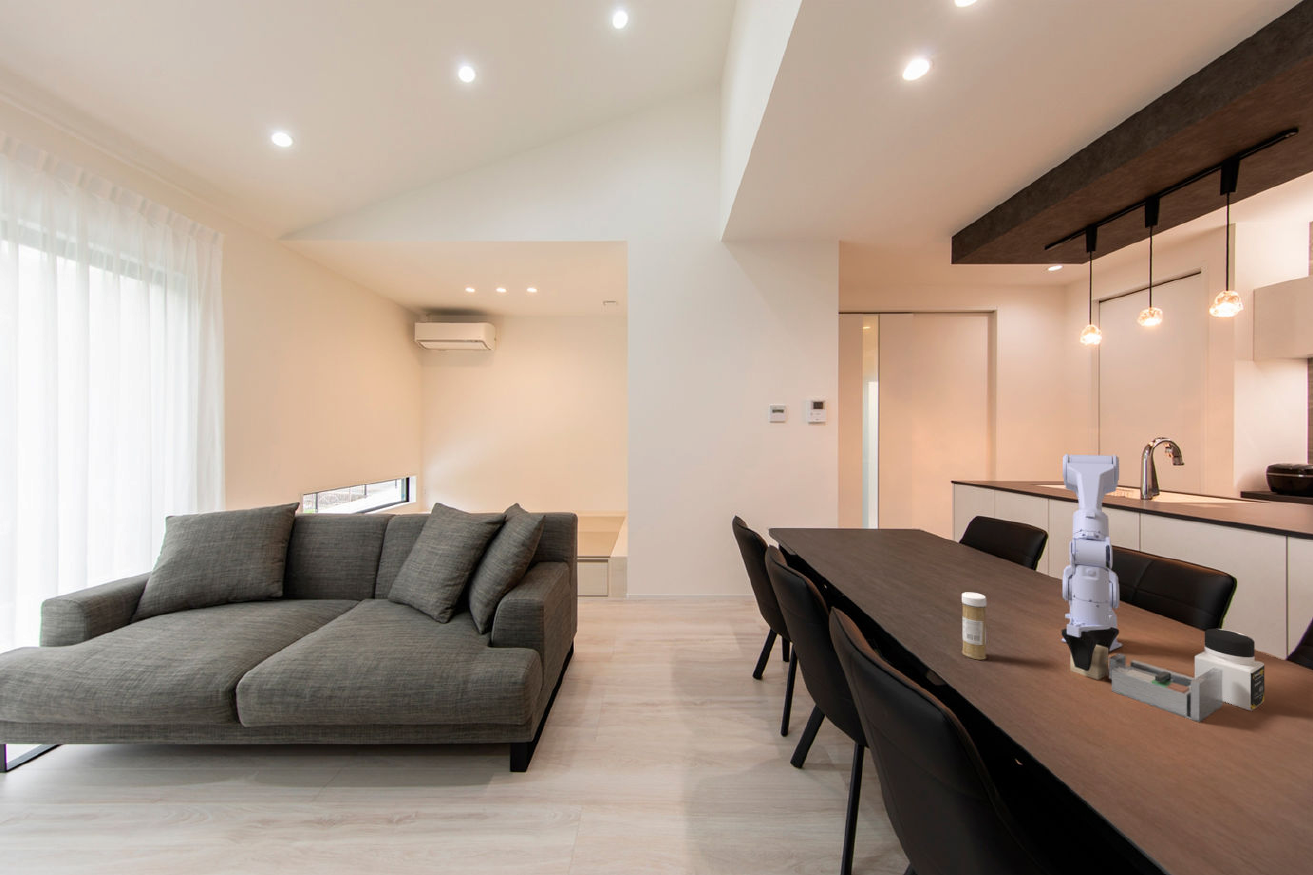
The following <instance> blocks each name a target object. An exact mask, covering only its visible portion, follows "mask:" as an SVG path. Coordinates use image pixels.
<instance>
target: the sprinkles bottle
mask: <svg viewBox="0 0 1313 875" xmlns="http://www.w3.org/2000/svg"><path fill="white" fill-rule="evenodd" d="M961 602H962V603H961V604H962V618H961V619H962V625H961V626H962V628H961V629H962V633H961V635H962V651H961V652H962V654H963V656H966V657H967V658H969V659H973V660H977V661H979V660H980V661H981V660H985V659H987V654H986V653H987V652H986V651H987V646H986V644H987V628H986V625H987V623H986V616H987V615H986V606H987V596H985V595H984V594H982V593H981V594H980V593H977V592H971V591H970V592H968V591H967V592H966V591H965V592H963V593H961Z"/></svg>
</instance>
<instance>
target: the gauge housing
mask: <svg viewBox="0 0 1313 875" xmlns="http://www.w3.org/2000/svg"><path fill="white" fill-rule="evenodd" d="M1129 666H1131V667H1134V668H1137V669H1141V670H1144V671H1147V672H1150V673H1153V674H1157V675H1158V674H1160V673H1162V672H1164V671H1165V672H1169V673H1171V679H1173V682H1170V681H1167V680H1165V681H1163V682H1158V681H1155V677H1154V676H1151V675H1148V674H1145V673H1141V672H1138V671H1135V670H1128V669H1124V668H1121V667H1117V668H1115V669H1113V670H1112V679H1111V692H1113V693H1116V694H1118V695H1121V696H1124V697H1127V698H1129V699H1132V700H1136V701H1138V702H1141V703H1143V704H1146V705H1149V706H1152V707H1155V708H1157V709H1161V710H1163V711H1166V712H1169V713H1171V714H1175V715H1178V716H1181V717H1183V718H1186V719H1189V720H1191V721H1194V722H1197V723H1200V722H1202V721H1203V720H1205V719H1206V718H1208V717H1209V716H1211V715H1212V714H1213V713H1215V712H1216V711H1217V710H1219V709H1220V708H1222V707H1223V702H1222V669H1218V668H1212V669H1211V670H1209V671H1207V672H1206V673H1204V674H1202V675H1201V676H1199V677H1197V678H1195V677H1192V676H1189V675H1186V674H1183V673H1179V672H1175V671H1173V670H1169V669H1165V668H1162V667H1159V666H1156V665H1152V664H1149V663H1146V662H1142V661H1139V660H1137V659H1133V660H1131V661H1130V665H1129ZM1211 713H1212V714H1211Z"/></svg>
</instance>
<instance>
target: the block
mask: <svg viewBox="0 0 1313 875" xmlns="http://www.w3.org/2000/svg"><path fill="white" fill-rule="evenodd" d="M1069 651H1070V650H1069ZM1069 657H1070V661H1069V663H1070V667H1069V671H1071V672H1074V673H1077V674H1080V675H1082V676H1085V677H1089V678H1091V679H1094V680H1097V681H1098V680H1101V679H1102V678H1105V677H1107V676H1109V654H1108V648H1107V647H1103V646H1100V645H1096V646H1095V648H1094V651H1093V654H1092V661H1091V666H1090V669H1089V671H1085V670H1082V669H1080V668H1077V667H1075V665H1074V662H1073V658H1072V655H1071V651H1070V655H1069Z"/></svg>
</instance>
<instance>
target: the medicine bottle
mask: <svg viewBox="0 0 1313 875" xmlns="http://www.w3.org/2000/svg"><path fill="white" fill-rule="evenodd" d="M1255 647H1256V646H1255V640H1253V638H1251V637H1250V636H1247V635H1246V634H1243V633H1240V632H1238V631H1234V630H1228V629H1225V628H1224V629H1222V628H1210V629H1207V630H1205V631H1204V651H1202V652H1200V653H1198V654H1196V655H1195V656H1194V678H1197V677H1199V676H1201V675H1202V674H1204V673H1206V672H1207V671H1209V670H1211V669H1212V668H1218V669H1222V703H1225V702H1226V703H1225V704H1228V703H1229V705H1231V704H1232V706H1234V707H1237V706H1238V708H1241V709H1244V710H1247V711H1250V712H1251V711H1254V710H1255V709H1256V708H1257V707H1259V705H1261V704H1263V703H1264V702H1265V663H1264V662H1262V661H1258V660H1255V657H1256V656H1255V653H1256V651H1255V649H1256V648H1255Z"/></svg>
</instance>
